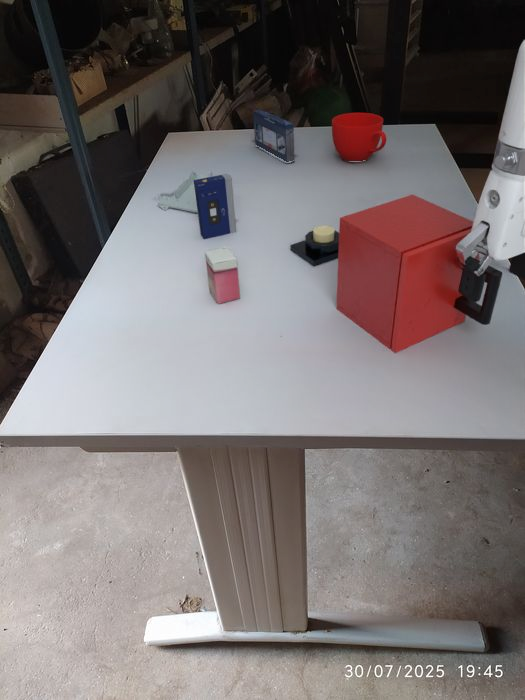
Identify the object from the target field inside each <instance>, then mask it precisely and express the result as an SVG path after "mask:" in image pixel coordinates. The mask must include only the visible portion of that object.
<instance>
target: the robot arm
mask: <svg viewBox="0 0 525 700" xmlns="http://www.w3.org/2000/svg"><path fill="white" fill-rule="evenodd" d="M472 221H473V225H472V230H471V232H470V233H469V234H468V235H467V236H466V237H464V238H463V239H462V240H461V241H460V242H459V243H458V244H457V245H456V252H457V256H458V258H457V260H458V262H459V263H460V266H461V267H462V268H463V271H462V275H461V280H460V284H459V289H458V291H459V293H460V294H462V295H464V296H465V297H467V298H469V299H470V300H472V301H474V302H476V303H477V302H480V300H481V298H482V293H483V290H484V286H485V283H486V282H485V279H486V274H484V273H483V272H484V271H485V270H486V268H487V267H488V265H489V266H490V265H491V263H492V261H493V260H495V261H497V262H502V261H507V260H508V259H511V261H510V264H509V268H508V272H509V273H510V274H513V275H514V276H516V277H519V278H520V279H522V280H525V39H523V40H522V42H521V44H520V46H519V49H518V52H517V55H516V59H515V64H514V68H513V72H512V77H511V81H510V85H509V90H508V95H507V99H506V102H505V107H504V112H503V115H502V119H501V125H500V129H499V133H498V138H497V141H496V146H495V150H494V156H493V160H492V163H491V170H490V171H489V173H488V176H487V179H486V181H485V183H484V186H483V189H482V191H481V195H480V198H479V201H478V204H477V207H476V210H475V214H474V218H473V220H472ZM486 246H487V248H485V247H486ZM478 253H479V254H481V255H483V257H482V259H480V260H479V261H480V263H479V264H478V262H477V261H476V260H475V259H474V258H475V257H476V256H477V254H478Z"/></svg>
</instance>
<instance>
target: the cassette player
mask: <svg viewBox="0 0 525 700" xmlns="http://www.w3.org/2000/svg"><path fill="white" fill-rule="evenodd" d="M194 187H195V195H196V203H197V210H198V213H197V214H198V217H197V218H198V225H199V232H200V236H201V238H202V239H203V240H208V239H212V238H216V237H221V236H225V235H230V234H234V233H237V224H236V212H235V211H236V210H235V201H234V199H235V198H234V188H233V177H232V175H231V174H228V173H224V174H219V175H213V177H208V178H202V179H197V180H194Z"/></svg>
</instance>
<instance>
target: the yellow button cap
mask: <svg viewBox="0 0 525 700" xmlns="http://www.w3.org/2000/svg"><path fill="white" fill-rule="evenodd" d="M334 230H335V228H334V227H332V226H329V225H318V226H316V227H314V228H313V230H312V231H313V240H314V241H316V242H321V243H325V242H331V241H333V240H334Z"/></svg>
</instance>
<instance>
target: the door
mask: <svg viewBox="0 0 525 700" xmlns="http://www.w3.org/2000/svg"><path fill="white" fill-rule="evenodd" d="M471 230H472V228H471V229H468V230H466V231H463V232H460V233H458V234H455V235H452V236H449V237H447V238H444V239H441V240H439V241H436V242H433V243H431V244H428V245H425V246H423V247H420V248H417V249H414V250H412V251H409V252H406V253H404V254H403V255H402V263H401V271H400V279H399V288H398V296H397V304H396V313H395V321H394V329H393V338H392V346H391V349H390V350H391V351H392V352H393V353H394V354H397V353H399V352H401V351H403V350H405V349H407V348H409V347H412V346H415V345H416V344H418V343H421V342H422V341H425V340H427V339H430V338H431V337H434V336H436V335H438V334H440V333H442V332H445V331H447V330H449V329H451V328H453V327H455V326H458V325H460V324H462V323H464V322H466V317H469V318H470V319H472V320H474V321H475V322H477V323H479V324H480V325H483V326H488V325H490V324H491V320H492V317H493V313H494V309H495V305H496V301H497V297H498V293H499V289H500V286H501V281H502V278H503V272H502V271H501V270H499V269H497V268H495V267H493V266H491V265H490V264H489V265H488V267H487V268H486V270H485V271H484V272H483V273H484V274H486V279H485V283H486V286H485V291H484V295H483V299H482V303H481V304H479V303H477V302H474V301H472V300H470V299H469V298H467V297H465V296H464V295H462V294H460V293H459V291H458V289H459V284H460V280H461V275H462V271H463V268H462V267H461V266H460V263H459V262H458V260H457V258H458V256H457V252H456V245H457V244H458V243H459V242H460V241H461V240H462V239H463V238H464V237H466V236H467V235H468V234H469V233H470V232H471ZM479 258H480V253H478V254H477V256H476V257H475V258H474V259H475V260H476V261H477V262H478V264H479V263H480V261H481V260H479Z"/></svg>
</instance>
